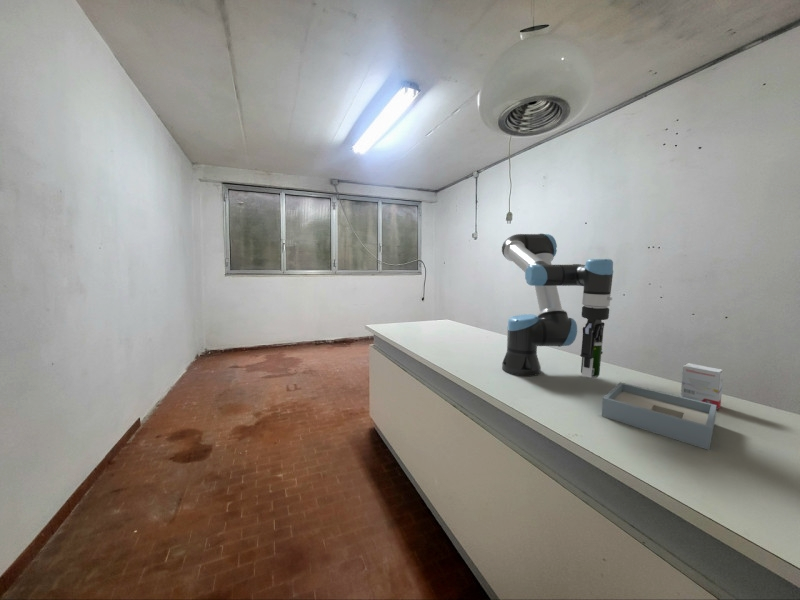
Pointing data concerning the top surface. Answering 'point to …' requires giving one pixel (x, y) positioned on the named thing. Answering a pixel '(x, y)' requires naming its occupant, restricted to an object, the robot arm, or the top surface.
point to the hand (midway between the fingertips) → (589, 373)
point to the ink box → (702, 383)
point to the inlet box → (661, 413)
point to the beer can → (595, 359)
